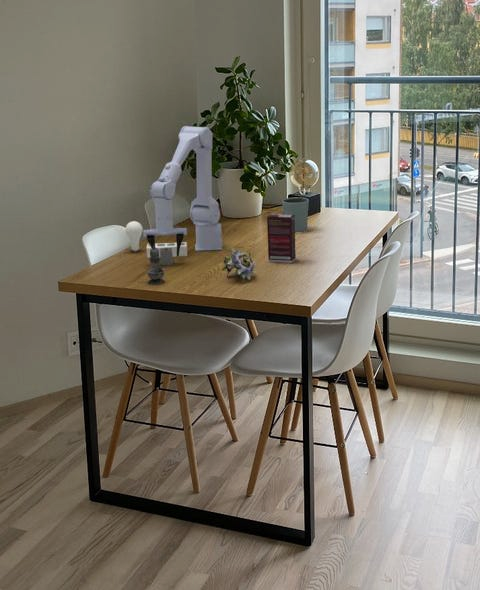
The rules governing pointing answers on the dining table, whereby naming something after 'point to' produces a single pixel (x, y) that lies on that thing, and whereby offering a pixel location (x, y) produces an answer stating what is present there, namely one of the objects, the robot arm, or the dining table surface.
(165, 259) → the block
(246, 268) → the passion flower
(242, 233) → the dining table surface
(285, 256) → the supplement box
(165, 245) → the power strip
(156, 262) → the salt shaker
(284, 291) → the dining table surface
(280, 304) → the dining table surface
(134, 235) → the lightbulb
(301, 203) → the grey green plant pot
